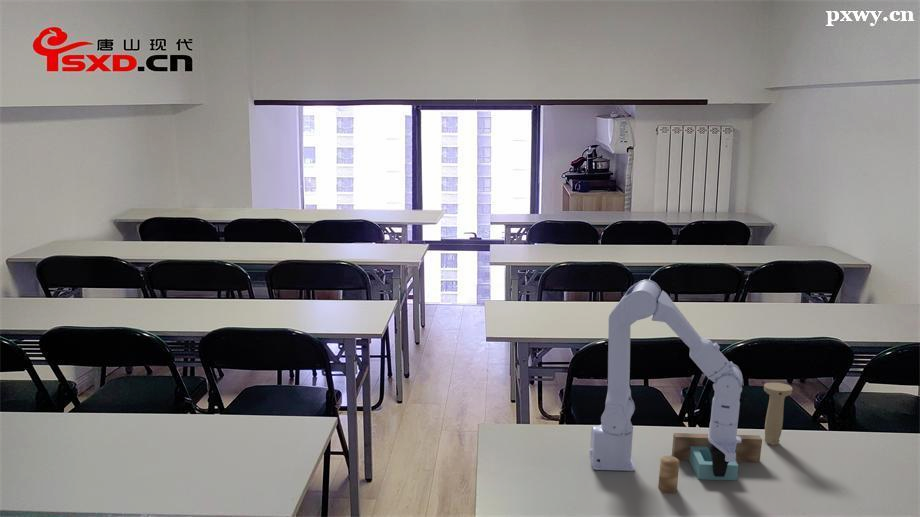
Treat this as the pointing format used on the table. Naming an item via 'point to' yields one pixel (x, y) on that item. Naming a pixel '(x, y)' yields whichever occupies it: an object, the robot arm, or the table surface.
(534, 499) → the table surface
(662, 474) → the dowel
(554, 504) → the table surface
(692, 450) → the socket block
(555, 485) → the table surface
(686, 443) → the wall
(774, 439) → the handle
